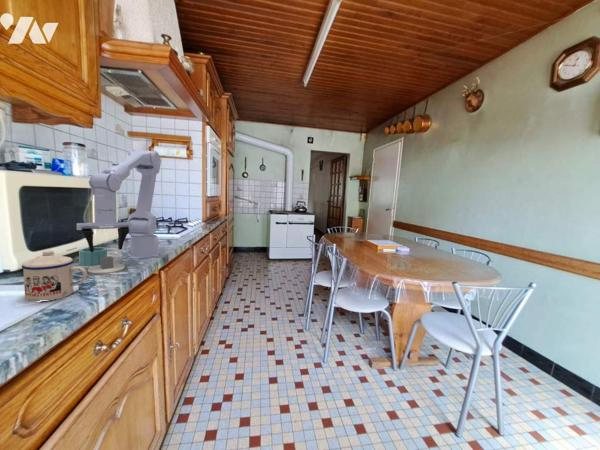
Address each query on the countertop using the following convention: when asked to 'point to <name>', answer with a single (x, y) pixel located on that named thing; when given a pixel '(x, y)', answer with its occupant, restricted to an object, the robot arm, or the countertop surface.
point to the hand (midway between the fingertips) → (106, 250)
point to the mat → (104, 273)
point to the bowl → (91, 256)
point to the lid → (106, 266)
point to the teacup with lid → (49, 277)
